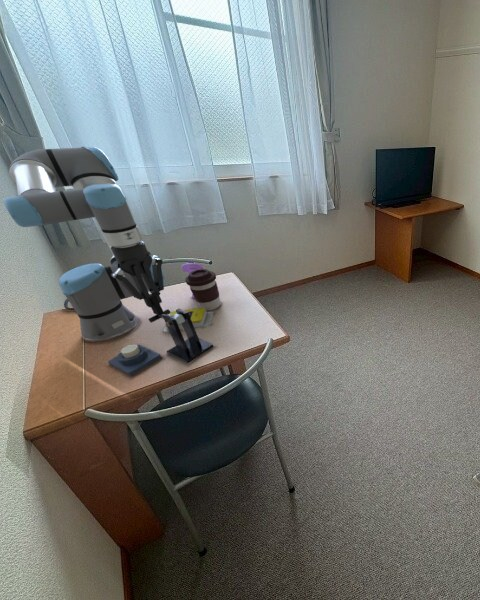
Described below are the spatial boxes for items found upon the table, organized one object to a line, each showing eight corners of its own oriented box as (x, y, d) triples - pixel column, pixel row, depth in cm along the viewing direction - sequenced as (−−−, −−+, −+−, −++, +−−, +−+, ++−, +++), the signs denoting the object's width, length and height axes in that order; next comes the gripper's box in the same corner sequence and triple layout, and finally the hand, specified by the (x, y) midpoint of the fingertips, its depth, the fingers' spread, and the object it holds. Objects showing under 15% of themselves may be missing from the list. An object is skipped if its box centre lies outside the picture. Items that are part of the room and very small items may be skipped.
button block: (110, 365, 97) (104, 356, 95) (141, 348, 104) (136, 339, 102) (131, 377, 93) (126, 368, 91) (162, 359, 100) (157, 349, 98)
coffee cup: (191, 307, 125) (178, 273, 117) (216, 297, 132) (205, 264, 124) (204, 316, 120) (192, 281, 112) (229, 305, 127) (219, 271, 119)
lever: (150, 323, 100) (146, 317, 99) (169, 314, 105) (166, 307, 103) (172, 328, 94) (168, 321, 93) (191, 317, 99) (187, 311, 98)
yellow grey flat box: (165, 309, 116) (210, 303, 120) (169, 319, 118) (214, 312, 123) (157, 323, 109) (206, 316, 113) (162, 334, 111) (210, 326, 115)
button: (121, 355, 96) (117, 350, 95) (135, 348, 99) (132, 342, 98) (128, 359, 95) (125, 354, 94) (142, 351, 98) (140, 346, 97)
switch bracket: (167, 354, 102) (149, 317, 94) (194, 339, 109) (179, 303, 101) (188, 364, 98) (171, 326, 91) (214, 348, 105) (200, 311, 98)
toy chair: (217, 286, 139) (207, 255, 131) (210, 297, 132) (199, 264, 124) (197, 287, 138) (186, 256, 130) (189, 298, 131) (176, 265, 123)
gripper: (107, 254, 82) (144, 327, 94) (159, 238, 92) (186, 306, 104) (91, 248, 84) (129, 320, 97) (143, 233, 95) (171, 300, 107)
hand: (158, 313), depth 101 cm, fingers closed
